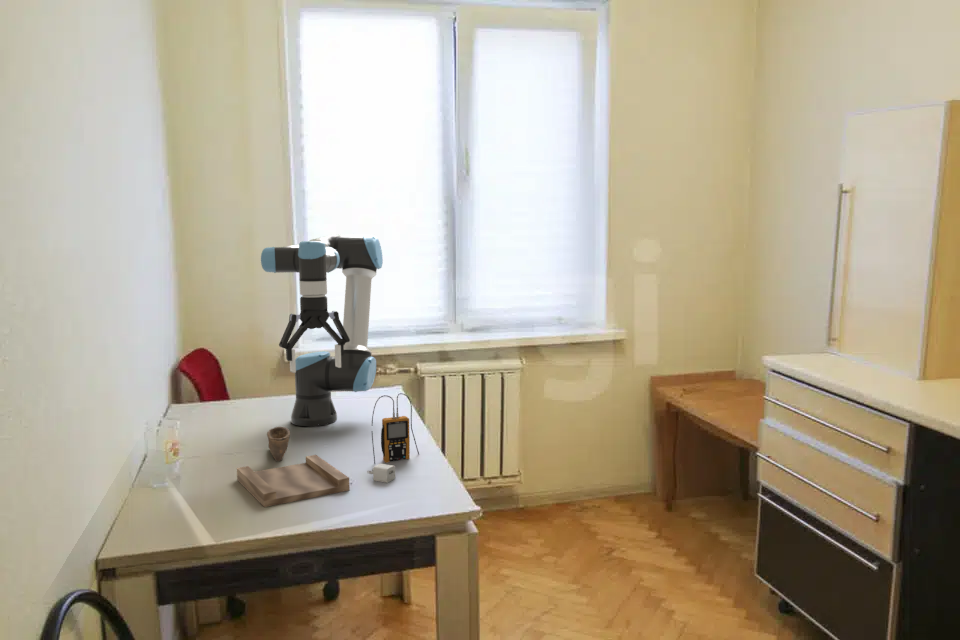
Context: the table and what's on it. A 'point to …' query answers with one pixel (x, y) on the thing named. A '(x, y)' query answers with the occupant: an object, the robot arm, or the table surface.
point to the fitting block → (293, 481)
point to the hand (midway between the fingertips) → (315, 369)
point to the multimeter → (395, 436)
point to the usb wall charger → (383, 473)
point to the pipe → (278, 441)
